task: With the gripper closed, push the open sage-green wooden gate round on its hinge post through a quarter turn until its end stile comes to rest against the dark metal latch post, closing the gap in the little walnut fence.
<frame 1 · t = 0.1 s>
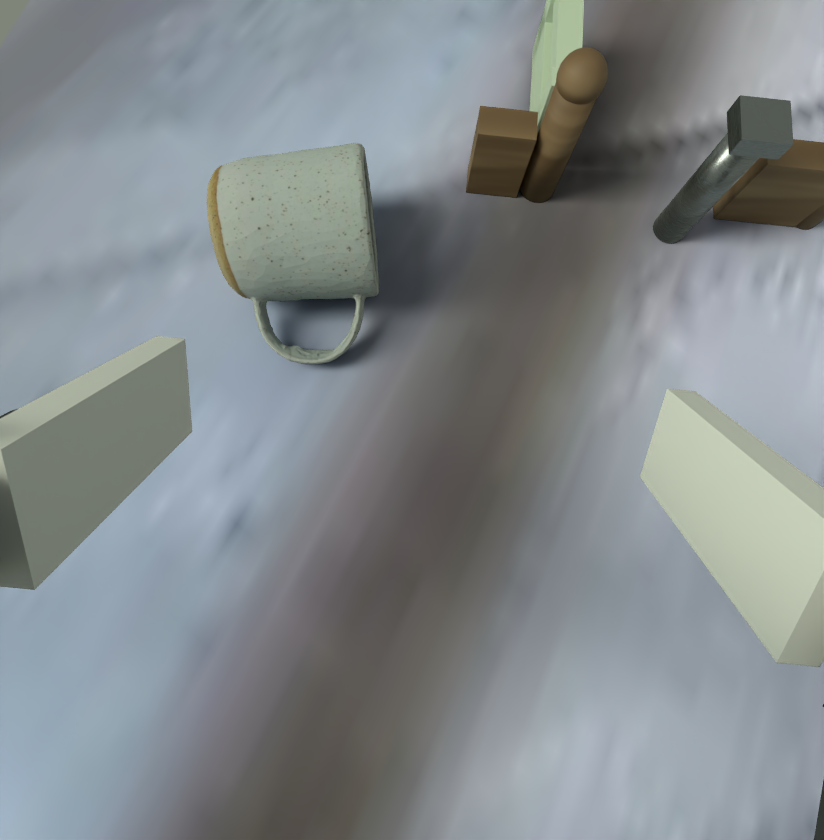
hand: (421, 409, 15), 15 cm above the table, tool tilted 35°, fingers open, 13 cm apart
fence far side: (753, 210, 34), on the table
latch post: (668, 229, 33), on the table
ceramic mug: (318, 284, 32), on the table
gate: (556, 66, 32), point 3 cm above the table, hinge at 0.0°
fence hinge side: (537, 187, 34), on the table
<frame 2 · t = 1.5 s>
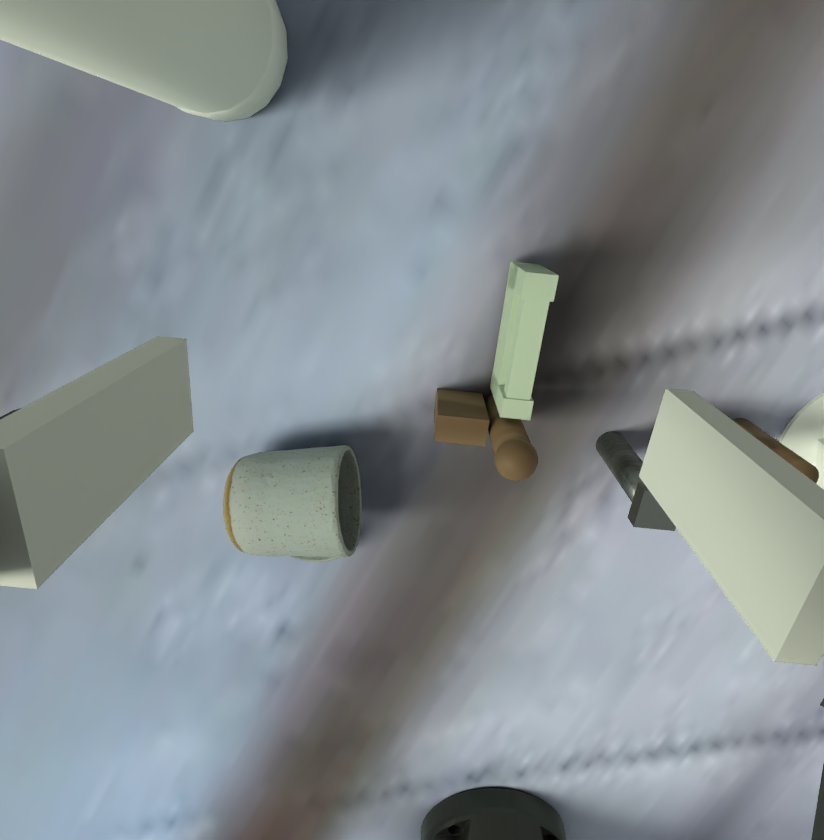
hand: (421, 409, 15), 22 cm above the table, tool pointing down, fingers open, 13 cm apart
fence far side: (693, 426, 38), on the table
bottle: (221, 44, 30), on the table
latch post: (609, 444, 38), on the table
ceramic mug: (315, 490, 41), on the table
gate: (520, 338, 32), point 3 cm above the table, hinge at 0.0°
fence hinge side: (498, 406, 38), on the table
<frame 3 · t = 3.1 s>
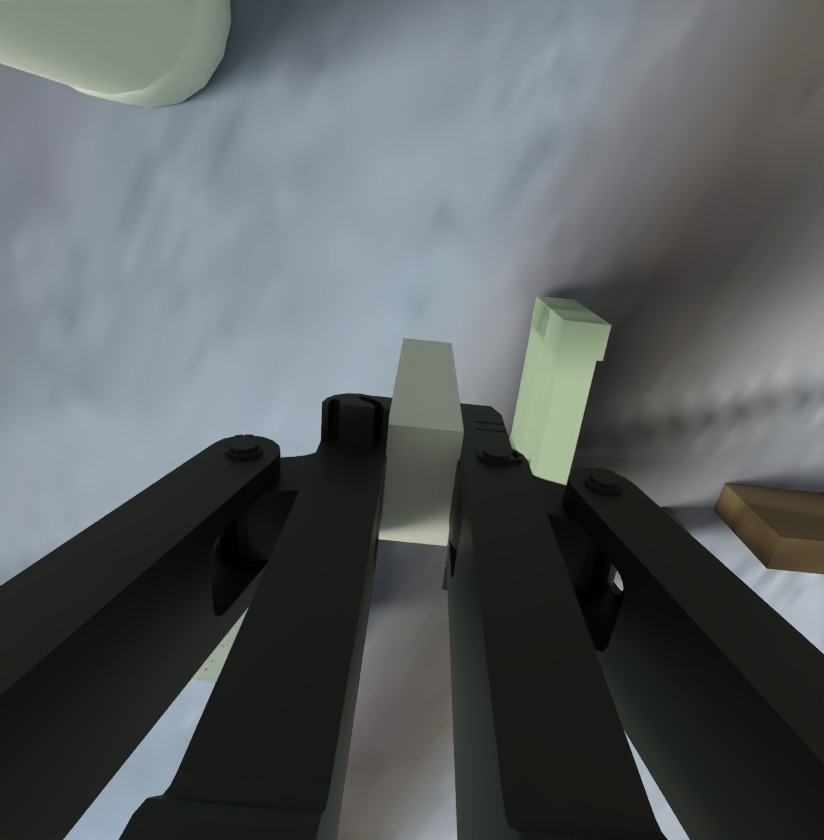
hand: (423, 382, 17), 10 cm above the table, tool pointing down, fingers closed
fence far side: (765, 502, 29), on the table
bottle: (140, 0, 22), on the table
ceramic mug: (286, 579, 33), on the table
gate: (550, 401, 24), point 3 cm above the table, hinge at 0.0°
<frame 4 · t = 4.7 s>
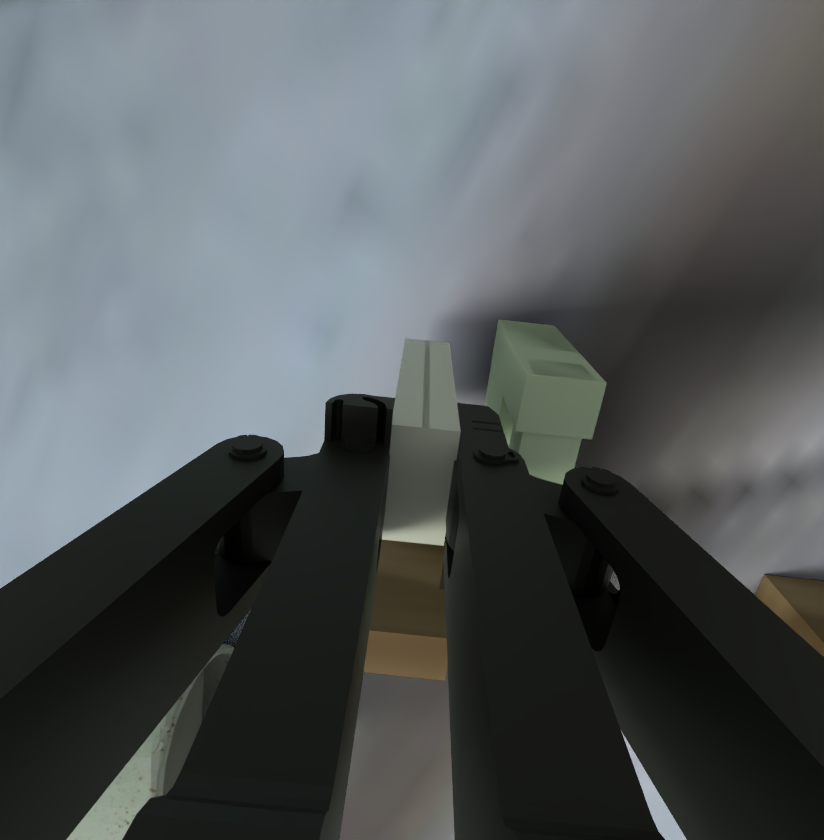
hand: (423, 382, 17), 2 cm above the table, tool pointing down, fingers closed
fence far side: (819, 599, 21), on the table
ceramic mug: (182, 686, 25), on the table
gate: (515, 480, 16), point 3 cm above the table, hinge at 0.1°, touching gripper
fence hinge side: (477, 562, 21), on the table
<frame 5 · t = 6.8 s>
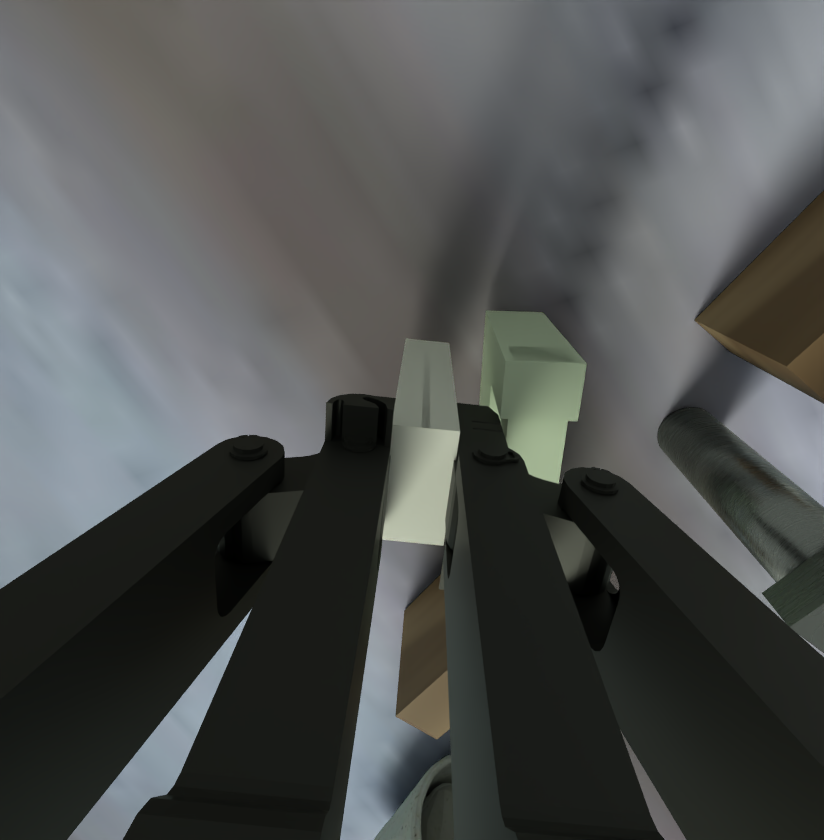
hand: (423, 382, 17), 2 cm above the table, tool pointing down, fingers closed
fence far side: (779, 272, 17), on the table
latch post: (686, 433, 19), on the table
ceramic mug: (475, 798, 28), on the table
gate: (512, 468, 16), point 3 cm above the table, hinge at 54.2°, touching gripper
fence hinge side: (488, 555, 21), on the table
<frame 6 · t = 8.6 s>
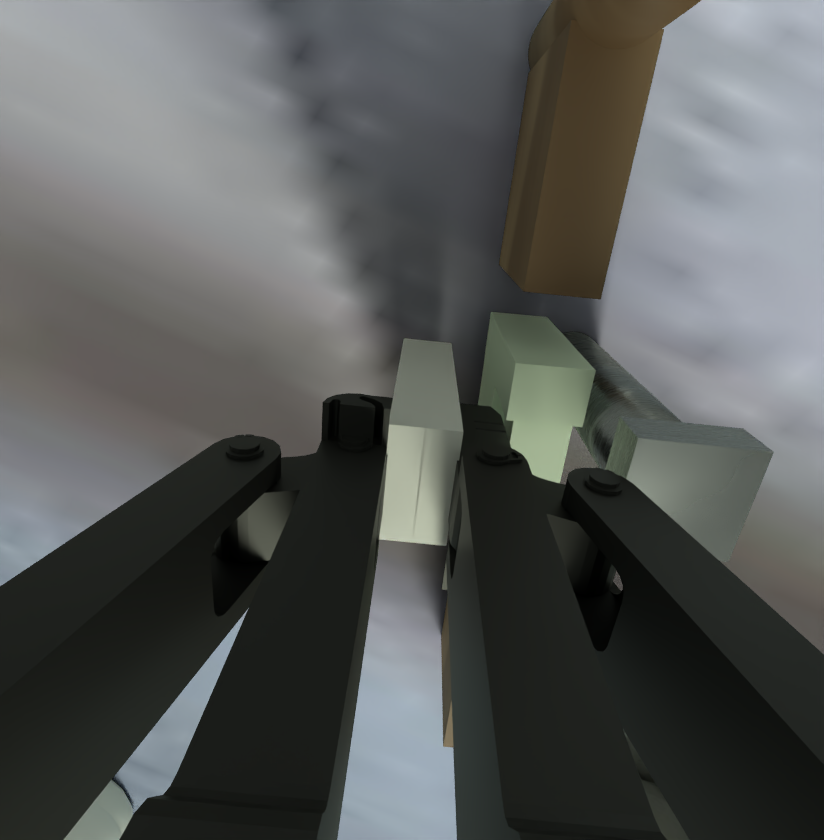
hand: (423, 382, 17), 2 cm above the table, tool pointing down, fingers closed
fence far side: (542, 178, 16), on the table
bottle: (66, 796, 29), on the table
latch post: (569, 360, 18), on the table
ceramic mug: (642, 773, 27), on the table
gate: (509, 471, 16), point 3 cm above the table, hinge at 89.4°
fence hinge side: (476, 555, 21), on the table
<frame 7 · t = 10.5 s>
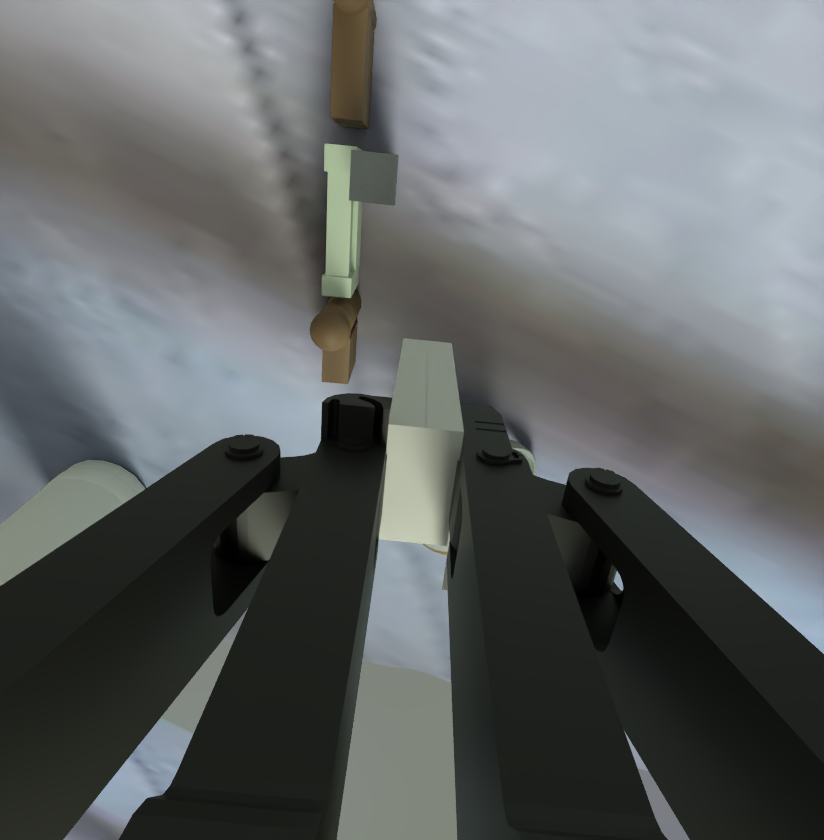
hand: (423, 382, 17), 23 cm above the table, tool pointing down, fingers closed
fence far side: (357, 80, 33), on the table
bottle: (107, 496, 46), on the table
latch post: (382, 179, 36), on the table
ceramic mug: (466, 461, 45), on the table
gate: (343, 222, 34), point 3 cm above the table, hinge at 89.5°
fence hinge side: (346, 302, 39), on the table
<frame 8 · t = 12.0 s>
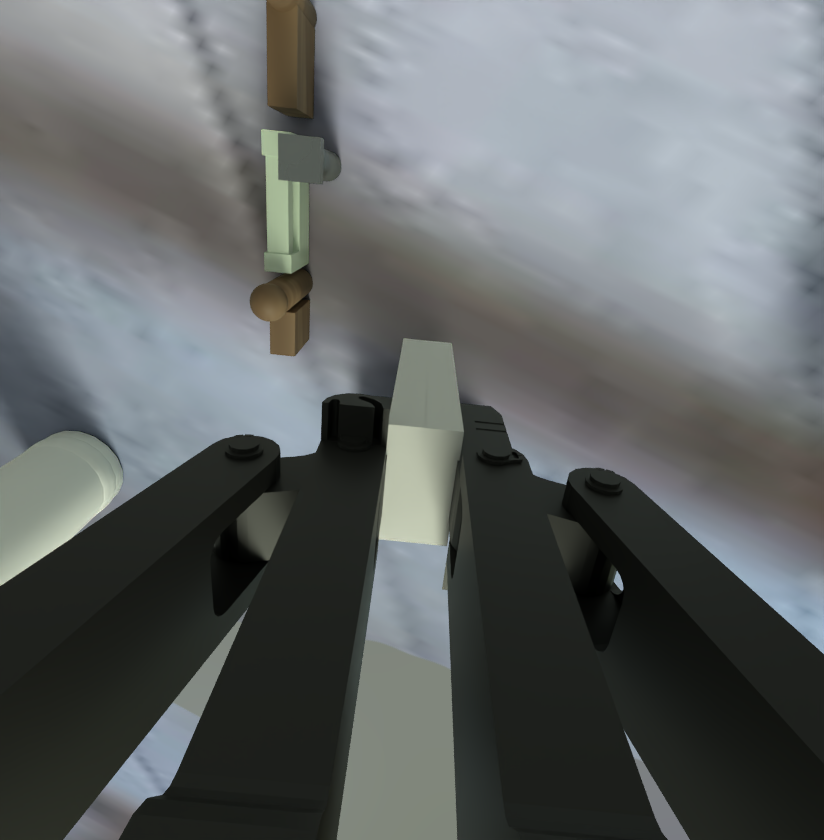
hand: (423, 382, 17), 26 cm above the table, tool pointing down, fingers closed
fence far side: (301, 74, 36), on the table
bottle: (83, 466, 49), on the table
latch post: (327, 166, 38), on the table
gate: (287, 204, 36), point 3 cm above the table, hinge at 89.5°
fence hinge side: (298, 282, 42), on the table
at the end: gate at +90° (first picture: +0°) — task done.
